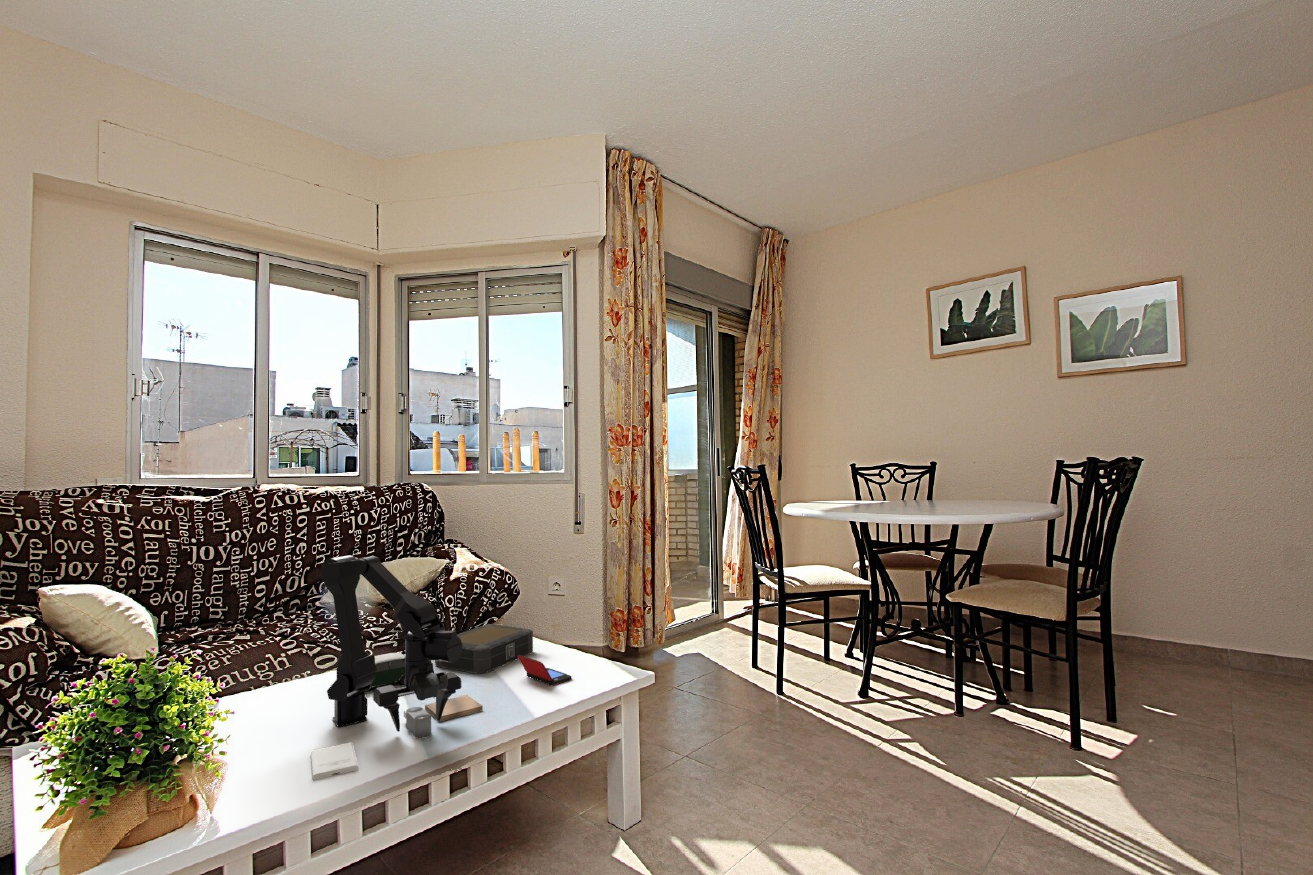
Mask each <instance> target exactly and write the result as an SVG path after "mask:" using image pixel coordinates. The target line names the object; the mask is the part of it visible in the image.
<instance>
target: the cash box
mask: <svg viewBox="0 0 1313 875" xmlns="http://www.w3.org/2000/svg"><path fill="white" fill-rule="evenodd" d="M533 634H534V633H533V630H532V629H529V628H523V627H516V626H507V625H502V624H491V623H487V624H484V625H482V626H478V627H475V628H473V629H469V630H467V631H463V632H461V633H458V634H457V636H458V637H459V638H460V639H461V642H462V644H463V648H462V653H461V655H460V657H459V659H458V660H457V661H456V662H445V661H436V660H434V665H435V666H436V667H438V668H443V669H448V670H449V669H450V670H454V671H455V670H456V671H459V672H460V671H461V672H464V673H473V674H478V675H482V674H483V675H484V674H486V673H489V672H491V671H494V670H497V669H498V668H501V667H503V666H505V665H509V664H510V663H512V662H514V660H515V661H517V660H519V659H518V657H517V656H518V655H522V656H525V657H527V656H528V655H530V653H531V654H532V653H533V652H534V635H533ZM516 659H517V660H516Z"/></svg>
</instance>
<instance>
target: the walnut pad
mask: <svg viewBox="0 0 1313 875" xmlns="http://www.w3.org/2000/svg"><path fill="white" fill-rule="evenodd" d="M483 708H484V707H483V705H482V704H481V703H479V702H478V701H477V700H476V699H474V698H472V697H471V696H469V694H465V695H461V696H457V697H452V698H448V700H447V702H446V704H445V707H444V710H443V713H442V716H441V719H440V721H438V723H441V722H444V721H449V720H452V719H455V718H458V717H459V718H460V717H463V716H467V715H472V714H475V713H478V712H482V711H483V710H484V709H483ZM424 710H425V711H426V712H427V713H429V714H430V715H431V717H433V718H434V719H435V720H436V721H437V719H436V701H435V702H432V703H428V704H425V705H424Z"/></svg>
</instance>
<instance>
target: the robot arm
mask: <svg viewBox="0 0 1313 875" xmlns="http://www.w3.org/2000/svg"><path fill="white" fill-rule="evenodd" d="M320 572H321V573H320V574H321V578H322V582H323V584H324V587H325V589H327V590H328V591H329V593H330V594H331V595H332V598H333V604H334V610H335V611H334V612H335V617H336V624H337V625H336V626H337V632H338V639H339V646H340V653H341V655H340V658H339V661H338V664H337V666H336V680H335V681H334V682H333V683H332V684H331V685H330V686H329V687H328V689H327V690H326V694H327V696H328V700H331V701H334V706H333V707H334V712H333V713H334V716H333V717H332V720H333V723H335V725H336V726H337V727H338V728H339V727H340V728H341V727H345V726H349V725H353V724H358V723H361V722H366V721H368V717H367V715H368V698H367V697H366V691H369V690H371V688H372V687H371V684H372V682H373V680H374V679H375V676H376V672H375V671H377V668H376V665H375V657H374V656H375V655H374V654H370V655H369V653H368V652H367V651H366V650H365V648H364V640H363V635H362V628H361V622H360V614H359V608H358V601H357V592H356V590H357V587H358V584H359V582H360V579H361V576H362V577H363V578H364V579H365V581H367V582H368V583H369V584H370V585H371V586H372V587H373V588H374V589H375V590H376V591H377V592H378V593H379V594H380V595H381V597H383V599H384V600H386V601H387V602H388V604H390V606H391V607H392V608H393V610H394V611H393V612H394V617H395V618H396V620H397V621H398V623H399V624H400V626H401V627H402V628H403V630H402V631H401V632H400V633H399V634H398V635H397V636H396V637H397V639H398V640H400V639H401V640H405V644H404V645H405V649H404V650H405V652H404V653H405V654H404V655H405V662H404V666H405V679H404V684H405V685H404V684H403V685H404V686H402V687H399V688H398V687H397V688H396V687H395V686H394V685H392V684H387V685H384V686H383V685H382V686H378V687H376V688H375V689H374V691H373V693H372V694H373V695H372V696H373V697H372V700H373V702H374V703H375V704H376V705H377V706H378V707H380V708H384V709H385V710H387V711H388V712H389V715H390V716H391V720H392V722H393V724H394V725H393V726H394V727H395V730H396V731H397V732H400V730H401V723H400V710H399V709H400V703H399V702H398V701H399V698H401V697H406V696H410V695H414V694H415V696H416V699H417V700H418V701H425V700H427V699H430V698H433V699H434V698H435V702H436V719H437V720H436V719H435V720H436V721H437V722H439V721H440V719H441V716H442V713H443V710H444V707H445V704H446V702H447V700H448V699H450V697H451V696H452V695H453V694H454V695H455V694H457V693H456V692H457V691H458V690H461V689H462V678H461V677H460V676H459V675H457V674H456V673H454V672H453V671H450V672H447V671H441V672H435V670H434V664H433V661H435V660H436V661H445V662H456V661H457V660H458V659H459V657H460V655H461V653H462V648H463V644H462V642H461V639H460V638H459V637H458V636H457V630H446V627H445V625H444V623H443V622H442V620H441V618H440V616H439V615H438V613H437V612H436V607H435V606H434V604H433V603H431V602H430V601H428V600H427V599H426V598H425V597H423V596H421V595H417V594H415V593H413V592H411V591H410V590H409V589H408V588H406V586H405V585H403V583H402V582H401V581H400V580H399V579H398V578H397V577H396V576H395V575H394V574H393V573H392V572H391V571H390V570H389V569H388V567H386V566H385V565H384V564H383V563H382V562H381V559H380V558H379V557H378V556H374V555H372V556H366V557H358V558H356V557H355V556H354V555H344V556H339V557H332V558H329V559H326V560H325V561H324V563H323V565H321V569H320ZM428 626H429V627H428ZM364 691H365V692H364Z"/></svg>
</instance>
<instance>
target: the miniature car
mask: <svg viewBox="0 0 1313 875" xmlns="http://www.w3.org/2000/svg"><path fill="white" fill-rule="evenodd" d="M374 657H375V665H376V668H377V671H375V672H376V676H375V679H374V680H373V682H372V684H371V688H375V687H376V688H377V687H381V686H383V685H384V686H386V685H390V684H392V683H397V682H400V683H401V684H402V685H404V686H405V684H404V679H405V666H404V662H405V654H403V653H400V652H389V653H384V654H379V655H374ZM364 692H365V693H366V691H364Z"/></svg>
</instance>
